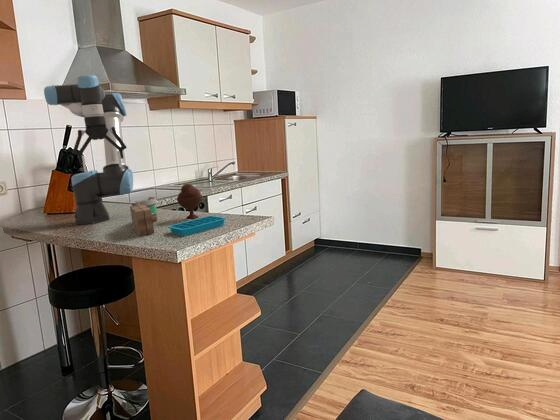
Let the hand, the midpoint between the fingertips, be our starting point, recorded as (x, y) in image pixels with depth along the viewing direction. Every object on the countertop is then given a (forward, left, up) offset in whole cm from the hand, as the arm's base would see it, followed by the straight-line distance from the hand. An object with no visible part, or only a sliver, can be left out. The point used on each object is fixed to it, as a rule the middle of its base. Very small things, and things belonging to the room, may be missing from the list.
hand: (103, 169), depth 174 cm
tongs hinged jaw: (+9, +18, -25) cm, 32 cm away
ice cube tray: (+13, +39, -26) cm, 49 cm away
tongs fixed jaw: (+8, +15, -25) cm, 30 cm away
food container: (-9, +13, -25) cm, 30 cm away
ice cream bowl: (-9, +31, -25) cm, 41 cm away
